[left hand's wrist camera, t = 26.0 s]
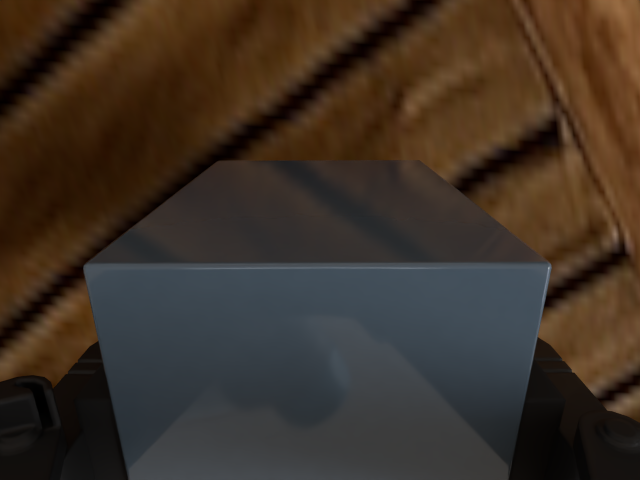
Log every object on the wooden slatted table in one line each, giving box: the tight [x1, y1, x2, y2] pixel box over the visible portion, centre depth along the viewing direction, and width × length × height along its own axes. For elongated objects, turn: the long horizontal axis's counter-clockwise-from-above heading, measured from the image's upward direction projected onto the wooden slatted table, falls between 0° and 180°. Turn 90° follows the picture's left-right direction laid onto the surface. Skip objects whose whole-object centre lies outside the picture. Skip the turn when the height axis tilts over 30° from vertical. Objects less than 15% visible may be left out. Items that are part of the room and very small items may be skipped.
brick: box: [83, 160, 551, 480], centre depth 12 cm, size 7×8×9 cm
